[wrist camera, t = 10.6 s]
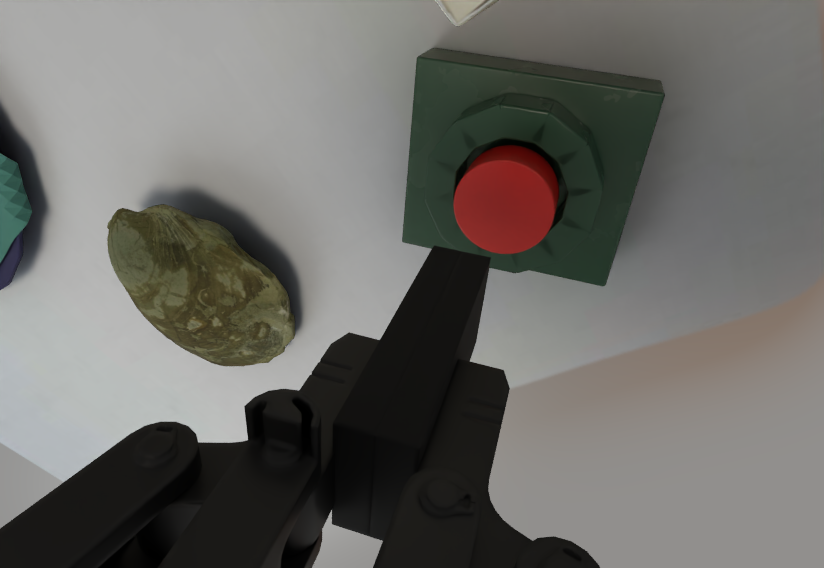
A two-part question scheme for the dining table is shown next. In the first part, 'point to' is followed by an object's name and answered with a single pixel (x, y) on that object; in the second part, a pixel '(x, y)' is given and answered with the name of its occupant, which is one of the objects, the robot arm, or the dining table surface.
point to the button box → (539, 131)
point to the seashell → (200, 286)
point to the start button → (507, 199)
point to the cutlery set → (11, 219)
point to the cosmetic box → (463, 9)
